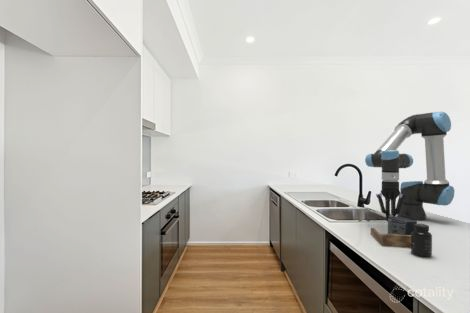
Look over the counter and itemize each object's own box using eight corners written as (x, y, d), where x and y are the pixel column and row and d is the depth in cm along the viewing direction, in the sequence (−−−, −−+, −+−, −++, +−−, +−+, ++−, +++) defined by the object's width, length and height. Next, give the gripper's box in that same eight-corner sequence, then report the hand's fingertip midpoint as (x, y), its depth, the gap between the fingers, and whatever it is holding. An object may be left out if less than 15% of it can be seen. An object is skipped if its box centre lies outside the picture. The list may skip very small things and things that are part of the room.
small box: (418, 244, 115) (418, 221, 115) (406, 245, 113) (406, 221, 113) (398, 237, 125) (398, 215, 125) (387, 238, 124) (387, 216, 124)
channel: (410, 236, 126) (410, 226, 126) (428, 249, 109) (428, 237, 109) (370, 233, 130) (370, 224, 130) (382, 245, 113) (382, 234, 113)
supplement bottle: (407, 252, 105) (407, 223, 105) (418, 250, 107) (418, 221, 107) (424, 259, 98) (424, 228, 98) (436, 256, 101) (436, 226, 101)
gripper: (378, 181, 126) (378, 229, 126) (408, 181, 123) (408, 230, 123) (373, 179, 133) (374, 225, 133) (401, 180, 130) (401, 226, 131)
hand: (390, 227), depth 128 cm, fingers closed
